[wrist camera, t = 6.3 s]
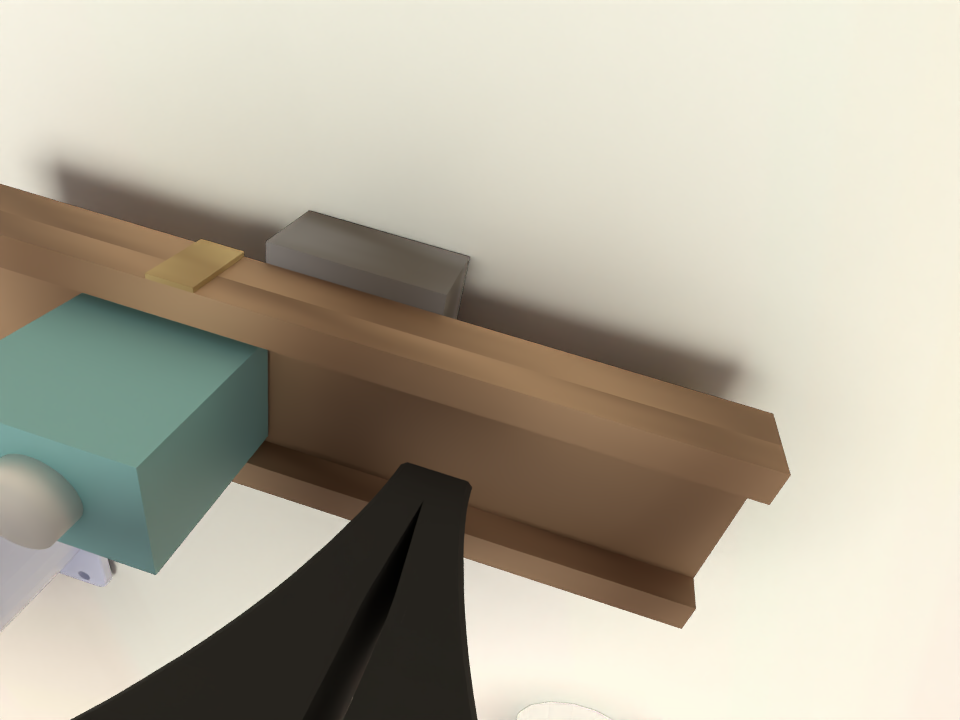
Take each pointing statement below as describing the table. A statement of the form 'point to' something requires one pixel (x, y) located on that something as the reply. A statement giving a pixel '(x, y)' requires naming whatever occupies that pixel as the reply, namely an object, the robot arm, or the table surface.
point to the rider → (122, 429)
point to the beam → (427, 397)
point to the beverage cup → (559, 712)
